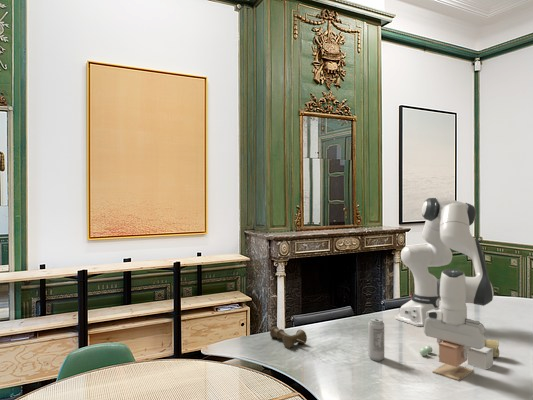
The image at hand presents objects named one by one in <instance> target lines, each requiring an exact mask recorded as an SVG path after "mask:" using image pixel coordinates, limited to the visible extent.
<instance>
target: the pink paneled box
mask: <svg viewBox="0 0 533 400" xmlns="http://www.w3.org/2000/svg"><path fill="white" fill-rule="evenodd" d="M465 350H466V349H464V346H463V345H459V344H456V343H452V342H448V341H442V342H441V343H439V345H438V362H439V363H442V364H448V365H451V366H455V367H457V366H462V364H463V363H465V362H468V357H467V358H466V359H465V358H462V357H461V352H463V351H465Z"/></svg>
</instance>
